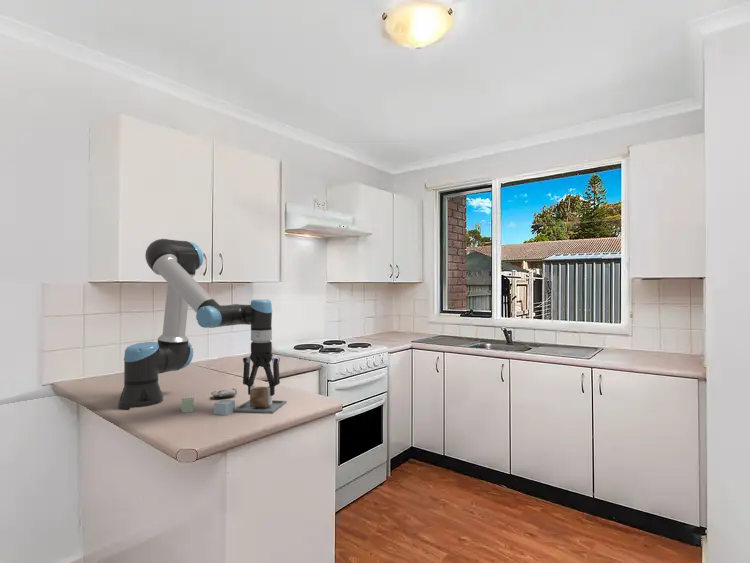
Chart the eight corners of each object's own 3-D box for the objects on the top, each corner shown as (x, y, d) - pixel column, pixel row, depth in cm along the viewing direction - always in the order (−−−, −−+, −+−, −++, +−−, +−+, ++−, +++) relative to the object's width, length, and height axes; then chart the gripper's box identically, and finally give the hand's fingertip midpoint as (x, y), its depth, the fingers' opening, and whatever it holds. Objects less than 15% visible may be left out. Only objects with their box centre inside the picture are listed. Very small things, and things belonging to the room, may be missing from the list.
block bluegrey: (214, 414, 154) (214, 403, 154) (223, 410, 159) (223, 399, 159) (226, 415, 153) (226, 404, 153) (234, 411, 158) (234, 400, 158)
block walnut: (250, 406, 159) (250, 390, 159) (257, 402, 165) (257, 386, 165) (265, 407, 158) (265, 390, 158) (272, 402, 164) (272, 386, 164)
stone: (212, 399, 172) (212, 392, 172) (210, 396, 178) (210, 390, 179) (237, 396, 176) (237, 389, 176) (235, 393, 182) (235, 387, 183)
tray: (233, 412, 156) (233, 408, 156) (250, 402, 170) (250, 399, 170) (272, 414, 154) (272, 410, 154) (286, 404, 167) (286, 400, 167)
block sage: (181, 412, 156) (181, 401, 156) (182, 409, 160) (182, 398, 160) (193, 411, 158) (193, 400, 158) (194, 408, 162) (194, 397, 162)
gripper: (232, 342, 160) (232, 405, 160) (282, 343, 157) (282, 407, 157) (241, 339, 167) (241, 400, 167) (289, 340, 164) (289, 402, 164)
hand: (261, 403), depth 162 cm, fingers closed on block walnut, 6 cm apart
